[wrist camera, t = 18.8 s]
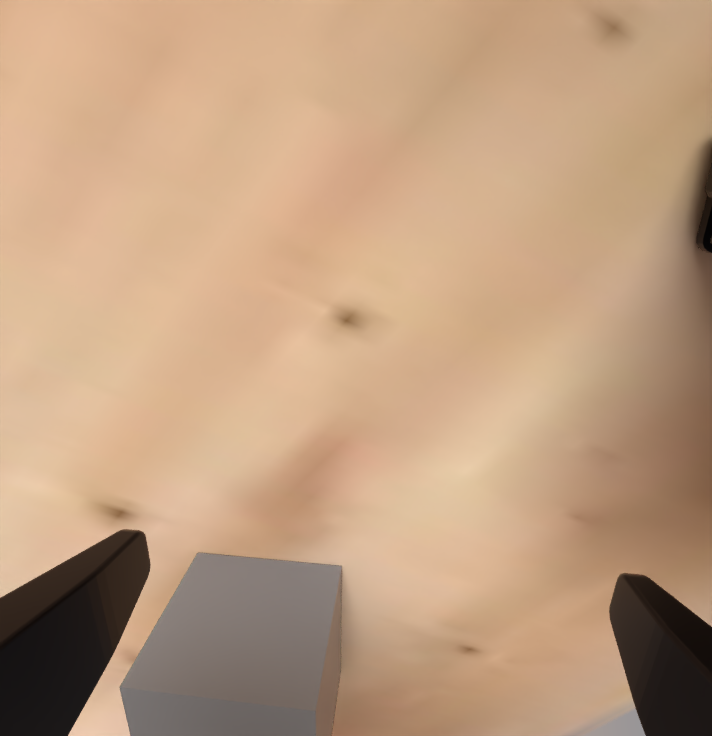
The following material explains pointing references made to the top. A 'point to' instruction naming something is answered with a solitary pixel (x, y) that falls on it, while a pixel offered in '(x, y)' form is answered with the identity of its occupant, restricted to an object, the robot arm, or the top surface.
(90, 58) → the top surface
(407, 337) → the top surface
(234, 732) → the gray rectangular platform
